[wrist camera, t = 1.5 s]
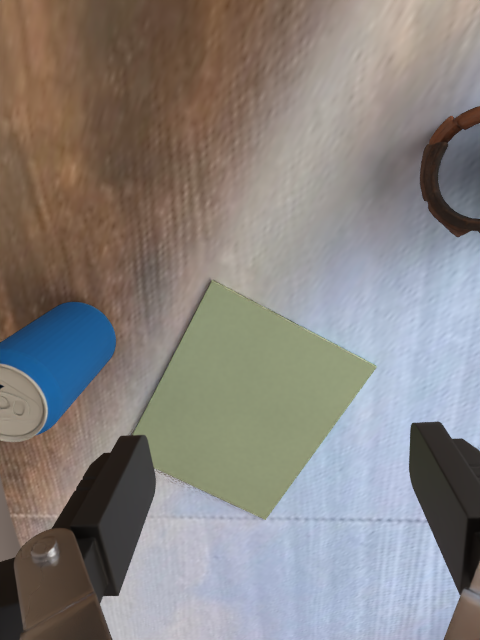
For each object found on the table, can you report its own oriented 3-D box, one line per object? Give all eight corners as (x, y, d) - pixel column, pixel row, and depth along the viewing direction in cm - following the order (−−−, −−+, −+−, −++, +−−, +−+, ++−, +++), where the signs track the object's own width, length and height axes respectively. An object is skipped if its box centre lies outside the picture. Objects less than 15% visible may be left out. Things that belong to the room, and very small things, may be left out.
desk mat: (124, 451, 42) (122, 453, 41) (212, 279, 35) (211, 280, 35) (265, 517, 43) (265, 520, 43) (376, 365, 36) (376, 367, 36)
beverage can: (55, 288, 36) (-43, 343, 25) (126, 313, 37) (61, 378, 25) (42, 352, 38) (-53, 428, 27) (110, 375, 39) (43, 460, 27)
